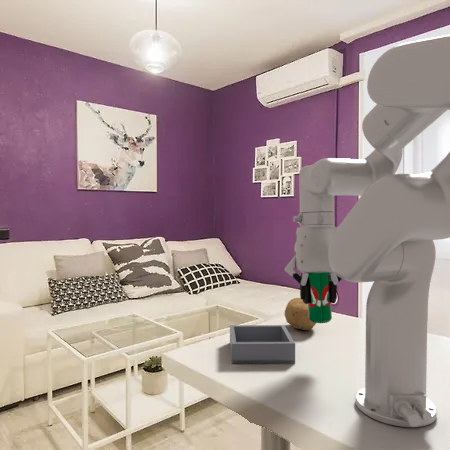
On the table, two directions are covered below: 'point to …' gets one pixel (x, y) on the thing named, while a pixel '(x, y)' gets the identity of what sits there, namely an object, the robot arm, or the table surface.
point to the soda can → (319, 297)
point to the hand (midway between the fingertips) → (318, 301)
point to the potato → (298, 314)
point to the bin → (261, 344)
